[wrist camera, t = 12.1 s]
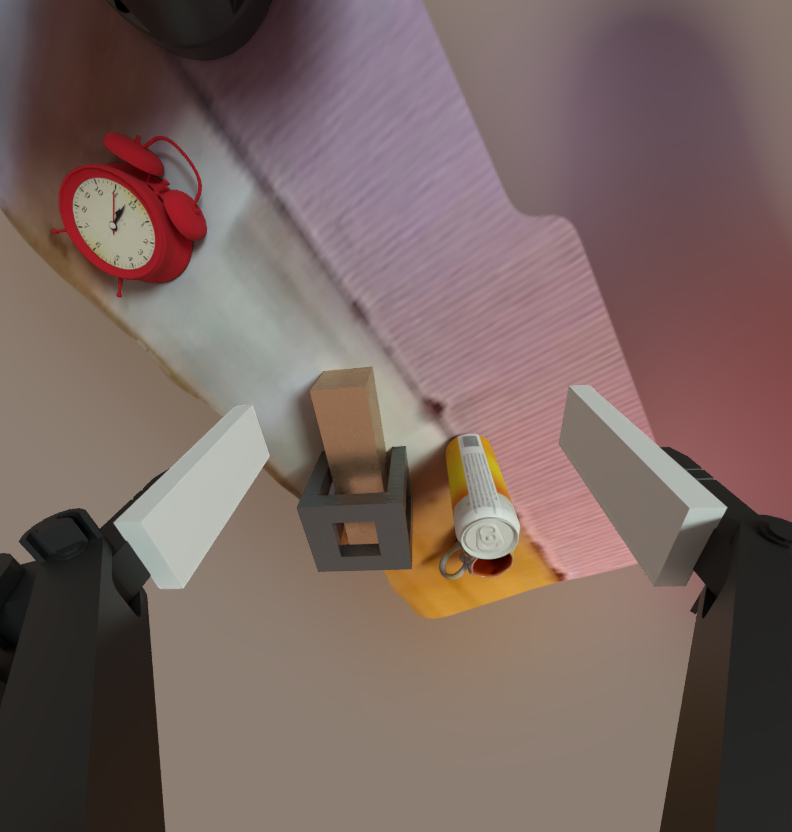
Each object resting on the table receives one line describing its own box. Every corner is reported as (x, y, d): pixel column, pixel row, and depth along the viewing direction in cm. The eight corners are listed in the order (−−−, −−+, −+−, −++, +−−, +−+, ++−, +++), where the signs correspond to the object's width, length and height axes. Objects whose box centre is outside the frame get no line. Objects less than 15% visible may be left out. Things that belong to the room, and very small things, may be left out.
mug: (492, 503, 48) (502, 539, 42) (515, 531, 51) (527, 569, 45) (425, 536, 52) (425, 573, 46) (449, 561, 55) (452, 599, 49)
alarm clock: (28, 219, 31) (74, 76, 23) (92, 213, 36) (148, 93, 28) (125, 313, 34) (192, 216, 27) (171, 296, 39) (239, 210, 32)
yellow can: (449, 471, 46) (462, 565, 33) (440, 435, 43) (451, 521, 30) (493, 464, 45) (525, 557, 32) (488, 426, 42) (520, 511, 29)
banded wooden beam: (323, 371, 40) (308, 391, 35) (372, 366, 39) (366, 386, 34) (357, 517, 51) (350, 550, 46) (396, 515, 50) (394, 548, 45)
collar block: (321, 451, 45) (296, 507, 36) (405, 446, 44) (402, 502, 35) (337, 508, 50) (318, 571, 41) (412, 505, 49) (411, 569, 40)
